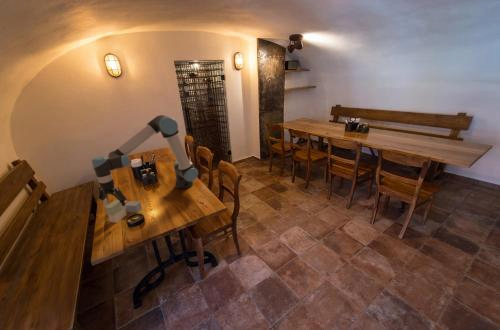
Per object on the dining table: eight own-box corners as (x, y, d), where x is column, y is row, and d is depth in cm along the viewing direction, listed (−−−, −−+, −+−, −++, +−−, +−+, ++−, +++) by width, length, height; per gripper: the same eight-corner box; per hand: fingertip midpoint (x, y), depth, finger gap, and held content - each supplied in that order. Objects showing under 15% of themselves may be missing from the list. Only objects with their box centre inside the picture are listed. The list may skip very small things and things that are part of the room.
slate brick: (142, 208, 152) (140, 201, 149) (137, 212, 147) (135, 205, 145) (131, 208, 153) (129, 201, 151) (126, 212, 149) (124, 205, 146)
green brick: (124, 207, 143) (121, 200, 140) (113, 215, 135) (110, 208, 132) (118, 207, 144) (115, 199, 142) (107, 214, 136) (104, 207, 134)
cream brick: (126, 214, 145) (124, 207, 143) (116, 222, 137) (113, 215, 135) (120, 214, 146) (118, 206, 144) (110, 222, 138) (107, 214, 136)
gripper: (127, 179, 131) (135, 207, 140) (95, 176, 137) (105, 203, 145) (117, 184, 125) (127, 213, 133) (84, 182, 130) (95, 210, 138)
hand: (115, 208), depth 139 cm, fingers open, 13 cm apart
